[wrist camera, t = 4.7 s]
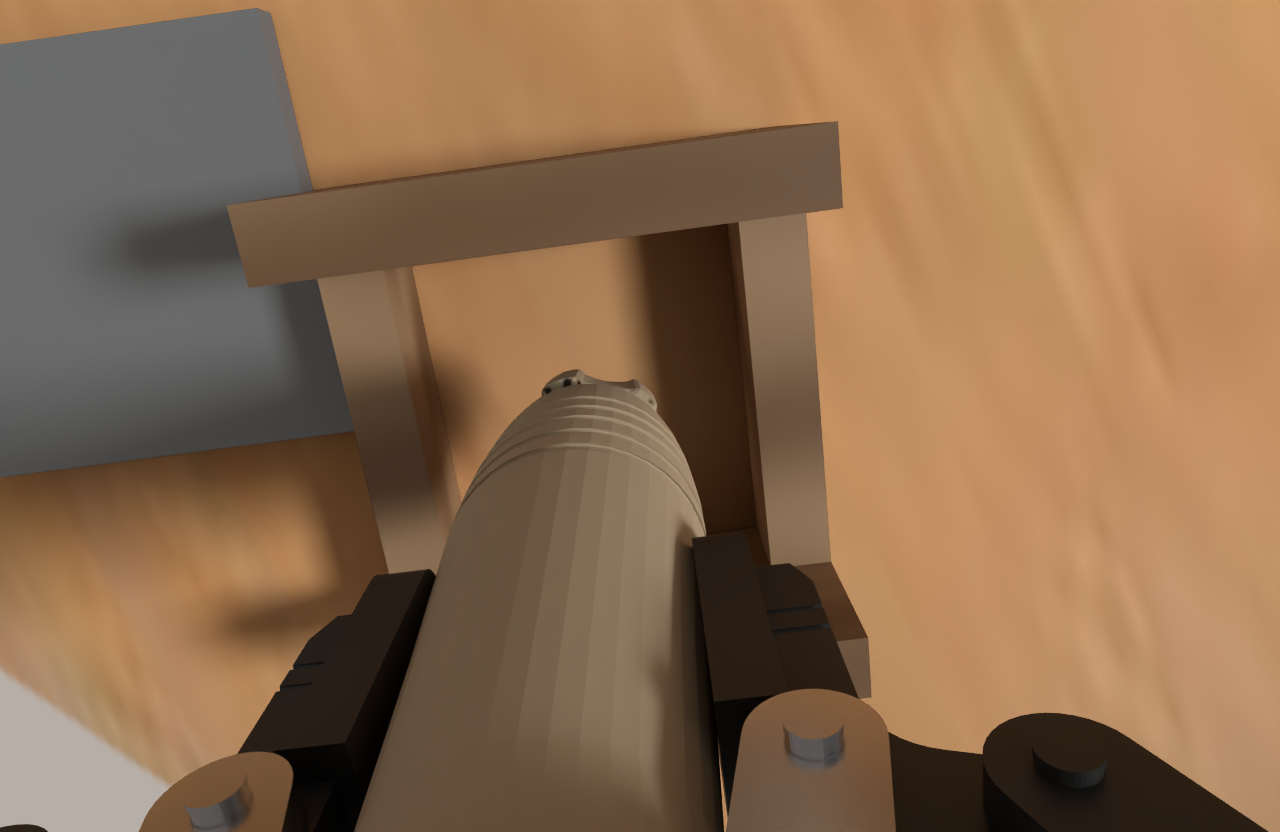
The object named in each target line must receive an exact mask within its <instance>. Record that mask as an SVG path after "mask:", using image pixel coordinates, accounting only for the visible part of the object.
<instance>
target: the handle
mask: <svg viewBox="0 0 1280 832" xmlns="http://www.w3.org/2000/svg"><path fill="white" fill-rule="evenodd" d="M656 408H657V403H656V400H655V397H654V395H653V394H652V393H651V391H650V390H649V389H648V388H646V387H645V386H644V385H643V384H642V383H640V382H639V381H638V380H635V379H633V380H630V381H627V382H609V381H603V380H599V379H595V378H592V377H590V376H587V375H585V374H584V373H583V372H582V371H581V370H570V371H567V372H563V373H562V374H560V375H558V376H556V377H554V378H553V379H552V380H550V381H549V382H548V383H547V384H546V385H545V387H544V388H543V390H542V397H541V398H539V399H538V400H536V401H535V402H534V403H532V404H531V405H530V406H529V407H528V408H526V409H525V410H524V411H523V412H522V413H521V414H520V415H519V416H518V417H517V418H516V419H515V420H513V422H512V423H511V424H510V425H509V426H508V428H507V429H506V430H505V431H504V433H503V434H502V435H501V437H500V438H499V439H498V440H497V442H496V443H495V445H494V446H493V448H492V449H491V451H490V452H489V454H488V455H487V457H486V459H485V460H484V461H483V463H482V465H481V466H480V468H479V469H478V471H477V473H476V475H475V477H474V479H473V481H472V483H471V485H470V487H469V489H468V491H467V493H466V495H465V497H464V499H463V501H462V504H461V505H460V508H459V510H458V512H457V514H456V516H455V519H454V522H453V523H452V525H451V528H450V531H449V535H448V538H447V541H446V544H445V547H444V551H443V554H442V557H441V561H440V564H439V567H438V571H437V574H436V577H435V581H434V584H433V587H432V591H431V594H430V597H429V600H428V604H427V607H426V610H425V614H424V617H423V620H422V624H421V627H420V630H419V633H418V637H417V640H416V643H415V647H414V650H413V653H412V657H411V660H410V663H409V666H408V669H407V672H406V675H405V678H404V681H403V684H402V687H401V690H400V694H399V697H398V700H397V703H396V706H395V709H394V712H393V715H392V718H391V721H390V724H389V727H388V730H387V733H386V736H385V739H384V742H383V745H382V748H381V751H380V754H379V757H378V760H377V763H376V766H375V769H374V772H373V775H372V779H371V782H370V785H369V788H368V791H367V794H366V797H365V800H364V803H363V806H362V809H361V812H360V815H359V818H358V821H357V824H356V827H355V830H354V832H724V823H723V809H722V794H721V780H720V765H719V751H718V736H717V728H716V720H715V712H714V704H713V697H712V689H711V682H710V674H709V667H708V659H707V651H706V644H705V636H704V629H703V621H702V614H701V606H700V599H699V591H698V584H697V576H696V569H695V561H694V554H693V546H692V538H694V537H703V536H706V530H705V524H704V518H703V512H702V507H701V503H700V499H699V496H698V492H697V489H696V486H695V483H694V480H693V477H692V474H691V471H690V468H689V466H688V463H687V461H686V458H685V456H684V454H683V452H682V450H681V448H680V446H679V444H678V442H677V440H676V439H675V437H674V435H673V433H672V432H671V430H670V429H669V428H668V426H667V425H666V424H665V422H664V421H663V420H662V419H661V417H660V416H659V415H658V414H657V411H656Z"/></svg>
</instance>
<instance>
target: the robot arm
mask: <svg viewBox="0 0 1280 832" xmlns="http://www.w3.org/2000/svg"><path fill="white" fill-rule="evenodd" d="M692 546H693V554H694V561H695V569H696V576H697V584H698V591H699V599H700V606H701V614H702V621H703V629H704V636H705V644H706V651H707V659H708V667H709V674H710V682H711V689H712V697H713V704H714V712H715V720H716V728H717V736H718V750H719V757H720V765H721V772H722V780H723V787H724V795H725V802H726V810H727V817H728V821H727V828H726V832H1268V831H1267V830H1265V829H1264V828H1262V827H1261V826H1259V825H1258V824H1256V823H1255V822H1253V821H1252V820H1250V819H1249V818H1247V817H1246V816H1244V815H1243V814H1241V813H1240V812H1238V811H1237V810H1235V809H1234V808H1232V807H1231V806H1229V805H1228V804H1226V803H1225V802H1224V801H1222V800H1221V799H1219V798H1218V797H1216V796H1215V795H1213V794H1212V793H1210V792H1209V791H1207V790H1206V789H1204V788H1203V787H1201V786H1200V785H1198V784H1197V783H1195V782H1194V781H1192V780H1191V779H1189V778H1188V777H1186V776H1185V775H1183V774H1182V773H1180V772H1179V771H1178V770H1176V769H1175V768H1173V767H1172V766H1170V765H1169V764H1167V763H1166V762H1164V761H1163V760H1161V759H1160V758H1158V757H1157V756H1155V755H1154V754H1152V753H1151V752H1149V751H1148V750H1146V749H1145V748H1143V747H1142V746H1140V745H1139V744H1137V743H1136V742H1134V741H1133V740H1131V739H1130V738H1129V737H1127V736H1125V735H1123V734H1122V733H1120V732H1118V731H1117V730H1115V729H1113V728H1110V727H1108V726H1106V725H1104V724H1102V723H1099V722H1096V721H1093V720H1090V719H1086V718H1082V717H1078V716H1074V715H1067V714H1060V713H1036V714H1028V715H1023V716H1019V717H1016V718H1013V719H1010V720H1008V721H1006V722H1004V723H1002V724H1000V725H999V726H997V727H996V728H995V729H994V730H993V731H992V732H991V733H990V734H989V736H988V737H987V738H986V741H985V743H984V746H983V754H975V753H967V752H958V751H950V750H942V749H936V748H930V747H926V746H922V745H918V744H915V743H912V742H909V741H907V740H904V739H901V738H899V737H897V736H895V735H893V734H891V733H890V732H888V730H887V727H886V725H885V723H884V720H883V719H882V718H881V716H880V715H879V714H878V713H877V712H876V711H875V710H874V709H873V708H872V707H871V706H869V705H868V704H866V703H865V702H863V701H862V700H860V699H859V697H858V695H857V692H856V690H855V687H854V685H853V682H852V679H851V677H850V674H849V672H848V669H847V667H846V664H845V662H844V659H843V656H842V654H841V651H840V649H839V646H838V644H837V641H836V638H835V636H834V633H833V631H832V628H830V623H829V620H828V618H827V615H826V613H825V610H824V608H823V607H822V603H821V600H820V597H819V595H818V592H817V590H816V587H815V585H814V582H813V580H811V579H810V578H809V577H807V576H806V575H805V574H803V573H802V572H801V571H799V570H798V569H797V568H796V567H794V566H793V565H792V564H790V563H784V564H776V565H767V566H759V567H754V563H753V560H752V556H751V552H750V548H749V545H748V541H747V537H746V534H745V532H736V533H728V534H719V535H711V536H703V537H694V538H692ZM435 577H436V575H435V574H434V572H433V571H432V570H431V569H425V570H417V571H408V572H400V573H392V574H383V575H376V576H375V577H373V579H372V580H371V582H370V583H369V585H368V587H367V589H366V590H365V592H364V594H363V596H362V597H361V599H360V601H359V603H358V604H357V606H356V608H355V610H354V611H353V613H352V614H351V615H343V616H337V617H336V618H335V619H334V620H333V621H331V622H330V623H329V624H328V625H326V626H325V627H324V628H323V629H322V630H320V631H319V632H318V633H317V634H315V635H314V636H313V637H312V638H311V639H309V641H308V642H307V644H306V645H305V647H304V649H303V650H302V652H301V653H300V655H299V656H298V658H297V660H296V661H295V663H294V664H293V670H290V671H289V672H288V674H287V676H286V677H285V679H284V680H283V682H282V684H281V685H280V691H279V692H276V693H275V695H274V696H273V698H272V699H271V701H270V703H269V704H268V706H267V707H266V709H265V711H264V712H263V714H262V715H261V717H260V719H259V720H258V722H257V723H256V725H255V726H254V728H253V730H252V731H251V733H250V734H249V736H248V738H247V739H246V741H245V742H244V744H243V746H242V747H241V749H240V750H239V752H238V754H236V755H232V756H229V757H225V758H222V759H219V760H217V761H214V762H212V763H209V764H207V765H205V766H203V767H201V768H199V769H197V770H195V771H194V772H192V773H190V774H188V775H187V776H185V777H184V778H182V779H181V780H179V781H178V782H177V783H175V784H174V785H173V786H172V787H170V788H169V789H168V790H167V791H166V792H165V793H164V794H163V795H162V796H161V797H160V798H159V799H158V800H157V801H156V802H155V803H154V805H153V806H152V807H151V809H150V810H149V812H148V814H147V815H146V817H145V819H144V821H143V823H142V826H141V828H140V830H139V832H354V830H355V827H356V824H357V821H358V818H359V815H360V812H361V809H362V806H363V803H364V800H365V797H366V794H367V791H368V788H369V785H370V782H371V779H372V775H373V772H374V769H375V766H376V763H377V760H378V757H379V754H380V751H381V748H382V745H383V742H384V739H385V736H386V733H387V730H388V727H389V724H390V721H391V718H392V715H393V712H394V709H395V706H396V703H397V700H398V697H399V694H400V690H401V687H402V684H403V681H404V678H405V675H406V672H407V669H408V666H409V663H410V660H411V657H412V653H413V650H414V647H415V643H416V640H417V637H418V633H419V630H420V627H421V624H422V620H423V617H424V614H425V610H426V607H427V604H428V600H429V597H430V594H431V591H432V587H433V584H434V581H435ZM0 832H47V830H45V829H44V828H42V827H39V826H36V825H29V824H24V825H12V826H6V827H1V828H0Z"/></svg>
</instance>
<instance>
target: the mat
mask: <svg viewBox="0 0 1280 832" xmlns="http://www.w3.org/2000/svg"><path fill="white" fill-rule="evenodd" d="M308 191H313V189H312V185H311V180H310V176H309V172H308V168H307V164H306V159H305V155H304V151H303V147H302V143H301V138H300V134H299V130H298V126H297V122H296V117H295V113H294V109H293V105H292V101H291V96H290V92H289V88H288V84H287V80H286V75H285V71H284V67H283V63H282V59H281V54H280V50H279V46H278V42H277V38H276V33H275V29H274V25H273V21H272V17H271V13H269V12H266V11H263V10H261V9H258V8H254V9H247V10H240V11H233V12H226V13H219V14H212V15H205V16H198V17H191V18H184V19H177V20H170V21H163V22H156V23H149V24H142V25H135V26H128V27H121V28H114V29H107V30H100V31H93V32H86V33H79V34H72V35H65V36H58V37H51V38H44V39H37V40H30V41H23V42H15V43H8V44H1V45H0V477H7V476H15V475H22V474H30V473H38V472H45V471H53V470H61V469H68V468H76V467H84V466H91V465H99V464H107V463H114V462H122V461H130V460H137V459H145V458H153V457H160V456H168V455H176V454H183V453H191V452H199V451H206V450H214V449H222V448H229V447H237V446H244V445H252V444H260V443H267V442H275V441H283V440H290V439H298V438H306V437H313V436H321V435H329V434H336V433H344V432H352V431H354V428H353V424H352V420H351V416H350V411H349V407H348V403H347V399H346V395H345V391H344V387H343V383H342V379H341V375H340V371H339V366H338V362H337V358H336V354H335V350H334V346H333V342H332V338H331V334H330V330H329V325H328V321H327V317H326V313H325V309H324V305H323V301H322V297H321V293H320V289H319V284H318V280H317V279H312V280H305V281H298V282H290V283H283V284H275V285H268V286H260V287H253V288H248V284H247V280H246V276H245V273H244V269H243V265H242V261H241V258H240V254H239V250H238V247H237V243H236V239H235V235H234V232H233V228H232V224H231V221H230V217H229V213H228V209H227V206H226V205H232V204H238V203H244V202H249V201H255V200H261V199H267V198H273V197H279V196H285V195H291V194H296V193H302V192H308Z"/></svg>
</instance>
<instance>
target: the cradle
mask: <svg viewBox="0 0 1280 832" xmlns="http://www.w3.org/2000/svg"><path fill="white" fill-rule="evenodd" d="M226 206H227V209H228V213H229V217H230V221H231V224H232V228H233V232H234V235H235V239H236V243H237V247H238V250H239V254H240V258H241V261H242V265H243V269H244V273H245V276H246V280H247V284H248V288H253V287H260V286H268V285H275V284H283V283H290V282H298V281H305V280H312V279H317V280H318V284H319V289H320V293H321V297H322V301H323V305H324V309H325V313H326V317H327V321H328V325H329V330H330V334H331V338H332V342H333V346H334V350H335V354H336V358H337V362H338V366H339V371H340V375H341V379H342V383H343V387H344V391H345V395H346V399H347V403H348V407H349V411H350V416H351V420H352V424H353V428H354V432H355V436H356V440H357V444H358V448H359V452H360V457H361V461H362V465H363V469H364V473H365V477H366V481H367V485H368V489H369V493H370V498H371V502H372V506H373V510H374V514H375V518H376V522H377V526H378V530H379V534H380V538H381V543H382V547H383V551H384V555H385V559H386V563H387V567H388V571H389V574H392V573H400V572H408V571H417V570H425V569H431V570H432V571H433V572H434V574H435V575H436V574H437V571H438V567H439V564H440V561H441V557H442V554H443V551H444V547H445V544H446V541H447V538H448V535H449V531H450V528H451V525H452V523H453V522H454V519H455V516H456V514H457V512H458V510H459V508H460V505H461V499H460V495H459V490H458V485H457V480H456V476H455V471H454V466H453V461H452V456H451V452H450V447H449V442H448V437H447V433H446V428H445V423H444V418H443V414H442V409H441V404H440V399H439V395H438V390H437V385H436V380H435V376H434V371H433V366H432V361H431V357H430V352H429V347H428V342H427V337H426V333H425V328H424V323H423V318H422V314H421V309H420V304H419V299H418V295H417V290H416V285H415V280H414V276H413V271H412V266H416V265H424V264H431V263H438V262H446V261H453V260H461V259H468V258H475V257H483V256H490V255H498V254H505V253H513V252H520V251H527V250H535V249H542V248H550V247H557V246H564V245H572V244H579V243H587V242H594V241H602V240H609V239H616V238H624V237H631V236H639V235H646V234H653V233H661V232H668V231H676V230H683V229H690V228H698V227H705V226H713V225H720V224H727V226H728V237H729V247H730V257H731V267H732V277H733V287H734V298H735V308H736V318H737V328H738V338H739V348H740V358H741V369H742V379H743V389H744V399H745V409H746V419H747V430H748V440H749V450H750V460H751V470H752V480H753V490H754V501H755V511H756V521H757V527H752V528H744V529H736V530H728V531H720V532H712V533H706V536H711V535H719V534H728V533H736V532H745V534H746V537H747V541H748V545H749V548H750V552H751V556H752V560H753V563H754V567H759V566H767V565H776V564H784V563H790V564H792V565H793V566H794V567H796V568H797V569H798V570H799V571H801V572H802V573H803V574H805V575H806V576H807V577H809V578H810V579H811V580H813V582H814V585H815V587H816V590H817V592H818V595H819V597H820V600H821V603H822V607H823V608H824V610H825V613H826V615H827V618H828V620H829V623H830V628H832V631H833V633H834V636H835V638H836V641H837V644H838V646H839V649H840V651H841V654H842V656H843V659H844V662H845V664H846V667H847V669H848V672H849V674H850V677H851V679H852V682H853V685H854V687H855V690H856V692H857V695H858V697H859V699H862V698H870V697H871V680H870V663H869V646H868V637H867V635H866V633H865V630H864V628H863V626H862V624H861V622H860V620H859V618H858V616H857V614H856V612H855V610H854V608H853V606H852V604H851V602H850V600H849V598H848V596H847V594H846V591H845V589H844V587H843V585H842V583H841V581H840V579H839V577H838V575H837V573H836V571H835V569H834V567H833V565H832V563H831V555H830V541H829V527H828V513H827V499H826V485H825V471H824V457H823V443H822V429H821V415H820V401H819V387H818V373H817V359H816V345H815V330H814V316H813V302H812V288H811V274H810V260H809V246H808V232H807V218H806V213H809V212H817V211H824V210H831V209H839V208H843V201H842V184H841V167H840V150H839V132H838V122H825V123H812V124H799V125H785V126H776V127H768V128H761V129H754V130H747V131H739V132H732V133H725V134H717V135H710V136H703V137H696V138H688V139H681V140H674V141H667V142H659V143H652V144H645V145H637V146H630V147H623V148H616V149H608V150H601V151H594V152H586V153H579V154H572V155H565V156H557V157H550V158H543V159H535V160H528V161H521V162H514V163H506V164H499V165H492V166H484V167H477V168H470V169H463V170H455V171H448V172H441V173H433V174H426V175H419V176H412V177H404V178H397V179H390V180H382V181H375V182H368V183H361V184H353V185H346V186H339V187H332V188H326V189H320V190H314V191H308V192H302V193H296V194H291V195H285V196H279V197H273V198H267V199H261V200H255V201H249V202H244V203H238V204H232V205H226Z"/></svg>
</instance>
